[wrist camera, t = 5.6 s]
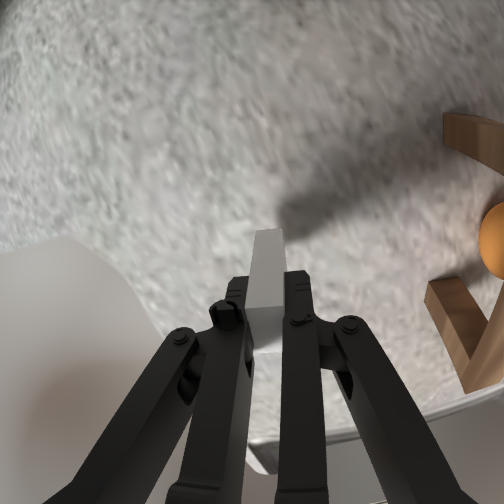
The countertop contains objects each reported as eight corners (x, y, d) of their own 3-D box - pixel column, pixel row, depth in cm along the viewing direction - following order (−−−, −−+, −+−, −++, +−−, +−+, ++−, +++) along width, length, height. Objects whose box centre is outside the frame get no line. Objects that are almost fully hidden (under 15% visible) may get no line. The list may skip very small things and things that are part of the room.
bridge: (423, 301, 21) (465, 394, 13) (443, 112, 14) (549, 152, 6) (453, 296, 21) (499, 382, 13) (478, 116, 13) (582, 158, 6)
